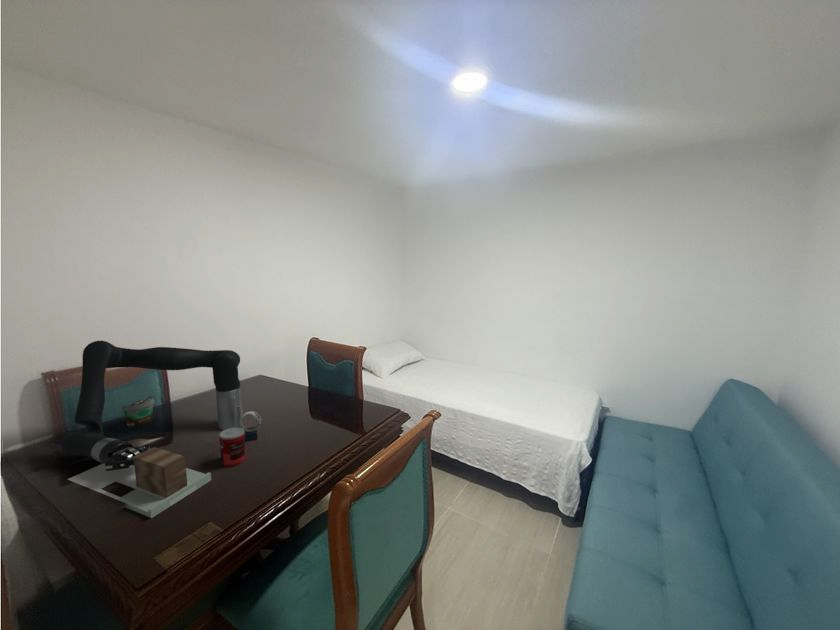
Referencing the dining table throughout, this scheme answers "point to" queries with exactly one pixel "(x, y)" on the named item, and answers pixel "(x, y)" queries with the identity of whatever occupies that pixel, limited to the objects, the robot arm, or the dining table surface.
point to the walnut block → (160, 471)
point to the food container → (139, 412)
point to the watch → (252, 432)
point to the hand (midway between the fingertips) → (146, 462)
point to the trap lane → (139, 497)
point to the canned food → (232, 446)
